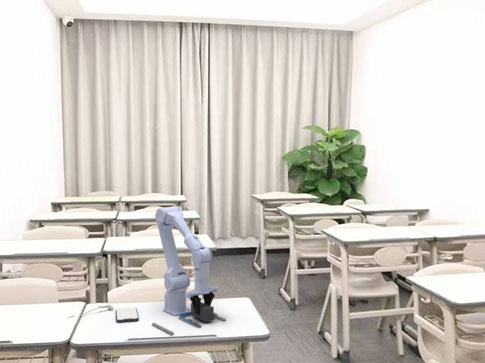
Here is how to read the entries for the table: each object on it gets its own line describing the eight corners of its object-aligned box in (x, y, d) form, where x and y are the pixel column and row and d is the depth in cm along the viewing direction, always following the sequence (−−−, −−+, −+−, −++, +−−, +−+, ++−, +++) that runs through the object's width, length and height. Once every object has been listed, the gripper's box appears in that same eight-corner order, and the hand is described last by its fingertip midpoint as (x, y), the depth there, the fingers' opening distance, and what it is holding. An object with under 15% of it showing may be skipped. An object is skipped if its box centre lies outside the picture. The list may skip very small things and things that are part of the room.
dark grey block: (190, 315, 200) (190, 303, 200) (199, 313, 203) (199, 301, 203) (205, 321, 193) (205, 309, 192) (213, 319, 195) (213, 307, 195)
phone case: (115, 312, 209) (116, 324, 194) (115, 308, 209) (116, 320, 193) (136, 311, 211) (139, 322, 196) (136, 307, 211) (139, 318, 196)
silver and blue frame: (150, 324, 192) (150, 320, 192) (203, 311, 208) (203, 308, 208) (171, 335, 181) (171, 331, 180) (226, 320, 197) (226, 317, 196)
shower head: (68, 327, 198) (117, 314, 209) (68, 320, 197) (117, 307, 208) (64, 320, 203) (112, 307, 213) (64, 313, 201) (112, 300, 212)
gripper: (192, 283, 189) (192, 319, 190) (222, 277, 198) (222, 311, 199) (182, 280, 195) (182, 314, 195) (212, 274, 204) (212, 307, 205)
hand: (202, 312), depth 198 cm, fingers closed on dark grey block, 4 cm apart
